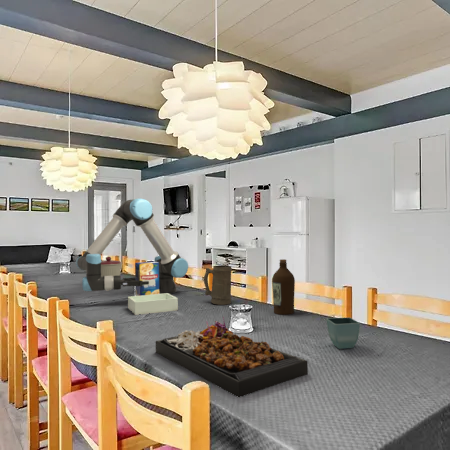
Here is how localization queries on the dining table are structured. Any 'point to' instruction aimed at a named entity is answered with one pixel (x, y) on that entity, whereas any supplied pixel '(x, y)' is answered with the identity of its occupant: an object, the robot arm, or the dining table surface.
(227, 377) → the food platter
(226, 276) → the beer stein
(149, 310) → the box
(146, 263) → the beverage box
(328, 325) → the flower pot
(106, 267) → the canister
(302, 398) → the dining table surface
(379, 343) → the dining table surface
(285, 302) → the brown bottle
